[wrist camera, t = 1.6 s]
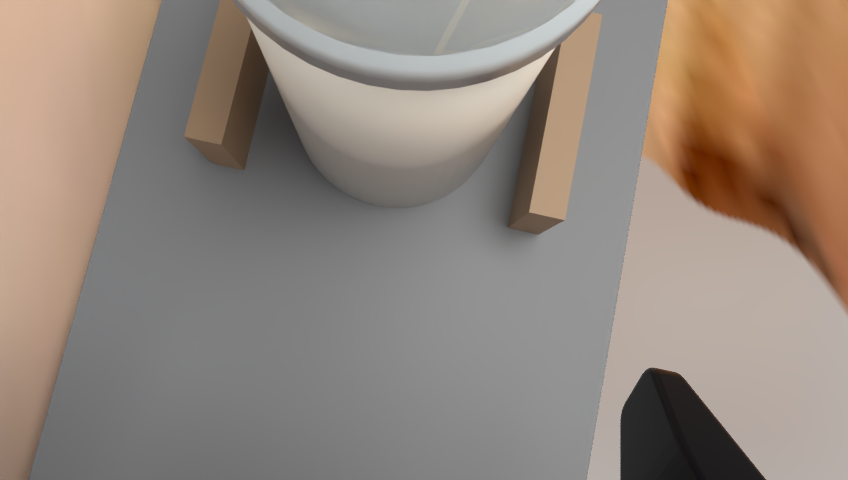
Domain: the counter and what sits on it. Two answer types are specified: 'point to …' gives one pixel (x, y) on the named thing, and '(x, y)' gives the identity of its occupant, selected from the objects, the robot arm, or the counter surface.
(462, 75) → the white mug
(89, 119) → the counter surface
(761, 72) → the counter surface
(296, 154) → the holder
